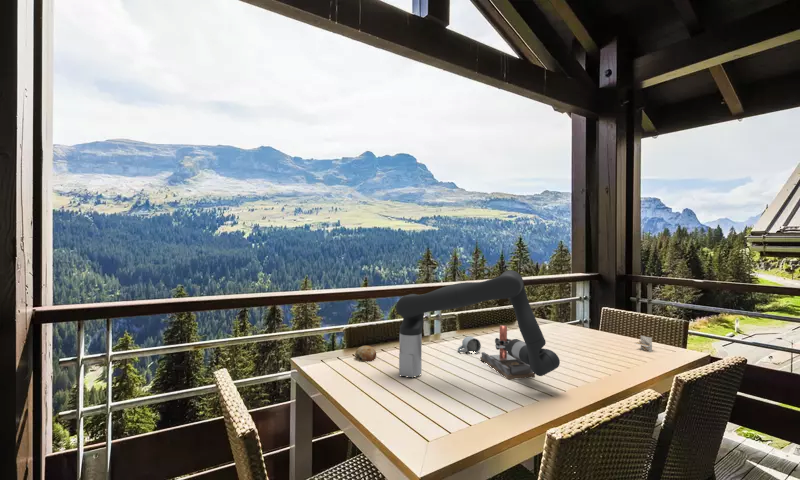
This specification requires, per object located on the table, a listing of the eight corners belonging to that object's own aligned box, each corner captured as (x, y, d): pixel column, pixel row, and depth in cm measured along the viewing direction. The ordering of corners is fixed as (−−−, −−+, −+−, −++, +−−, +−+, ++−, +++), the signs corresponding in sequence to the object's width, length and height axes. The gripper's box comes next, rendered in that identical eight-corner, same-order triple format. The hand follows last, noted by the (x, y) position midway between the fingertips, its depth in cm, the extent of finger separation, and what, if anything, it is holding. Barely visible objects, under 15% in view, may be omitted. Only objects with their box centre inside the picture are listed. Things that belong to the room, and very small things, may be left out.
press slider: (516, 364, 171) (516, 327, 171) (498, 366, 169) (498, 328, 169) (507, 359, 178) (507, 323, 178) (490, 360, 176) (490, 324, 176)
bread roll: (353, 366, 184) (349, 353, 181) (364, 352, 193) (360, 339, 190) (371, 369, 180) (367, 356, 177) (381, 355, 188) (377, 341, 185)
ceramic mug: (474, 349, 201) (474, 334, 201) (481, 353, 193) (480, 338, 193) (455, 350, 199) (454, 335, 199) (461, 355, 191) (460, 339, 191)
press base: (534, 377, 160) (534, 364, 160) (508, 379, 157) (508, 366, 157) (503, 358, 185) (503, 347, 185) (480, 360, 182) (480, 349, 182)
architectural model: (648, 353, 195) (648, 338, 195) (634, 350, 202) (634, 335, 202) (652, 352, 197) (652, 337, 197) (638, 349, 203) (638, 334, 203)
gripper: (535, 340, 161) (514, 330, 178) (504, 342, 158) (485, 332, 175) (535, 358, 161) (514, 347, 178) (504, 361, 158) (485, 349, 175)
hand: (500, 340), depth 176 cm, fingers closed on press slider, 3 cm apart
